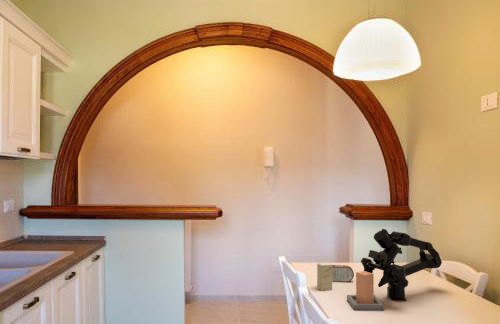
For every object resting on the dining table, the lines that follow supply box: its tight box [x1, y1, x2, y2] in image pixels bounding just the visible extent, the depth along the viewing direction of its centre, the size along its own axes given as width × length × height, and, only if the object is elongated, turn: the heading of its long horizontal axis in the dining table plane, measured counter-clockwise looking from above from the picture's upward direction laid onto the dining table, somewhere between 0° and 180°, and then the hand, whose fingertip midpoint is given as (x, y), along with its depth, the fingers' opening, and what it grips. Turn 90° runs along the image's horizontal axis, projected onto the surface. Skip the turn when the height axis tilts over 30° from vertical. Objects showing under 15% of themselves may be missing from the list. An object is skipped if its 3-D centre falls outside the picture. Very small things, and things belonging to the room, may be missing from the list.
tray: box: [346, 294, 385, 312], centre depth 150 cm, size 12×12×2 cm
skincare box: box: [316, 262, 333, 291], centre depth 171 cm, size 6×4×12 cm
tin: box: [332, 264, 355, 283], centre depth 184 cm, size 15×3×8 cm, turn 84°
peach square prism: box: [355, 270, 375, 304], centre depth 150 cm, size 5×5×13 cm
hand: (370, 283), depth 152 cm, fingers open, 9 cm apart
